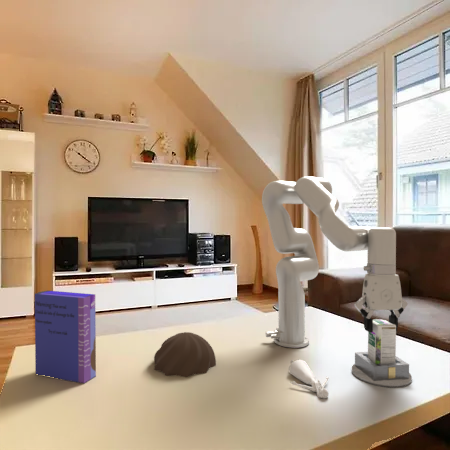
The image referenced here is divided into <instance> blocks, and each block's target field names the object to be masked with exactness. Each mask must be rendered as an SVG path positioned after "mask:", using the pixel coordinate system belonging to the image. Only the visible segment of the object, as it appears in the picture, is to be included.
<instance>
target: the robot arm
mask: <svg viewBox="0 0 450 450" xmlns="http://www.w3.org/2000/svg"><path fill="white" fill-rule="evenodd" d="M332 193H333V187H332V184H331V182H329V180H328V179H326V178H323V177H318V176H317V177H316V176H308V175H307V176H302V177H300V178H298V179H297V181H288V180H274V181H271V182H268V184H267V185H266V186H265V187H264V189H263V191H262V194H261V203H262V208H263V212H264V214H265V216H266V219H267V222H268V227H269V231H270V235H271V239H272V244H273V247H274V249H275V251H276V252H277V253H279V254H284V255H285V254H286V255H287V254H294V255H292V256H291V255H290V256H285V257H282V258H281V259H280V260H278V262H277V263H276V266H275V275H276V280H277V281H276V282H277V288H278V292H277V293H278V297H277V298H278V299H277V300H278V327H276V329H275V330H273V331H265V337H266V338H270V339H273V340H274V341H273V342H274V343H275V344H276V345H278V346H280V347H284V348H290V349H291V348H293V349H297V348H305V347H307V346H308V345H309V344H310V339H309V338H308V337H307V336H306V334H305V331H306V329H305V326H306V325H305V323H306V321H305V317H306V315H305V314H306V313H305V310H306V305H305V304H306V301H305V300H306V299H305V295H306V294H305V291H304V288H303V285H302V282H305V281H310V280H311V281H312V280H313V279H315V278H316V277H317V276H318V274H319V271H320V264H319V260H318V257H317V253H316V249H315V245H314V242H313V239H312V236H311V234H310V233H309V232H308V231H307V230H306V229H304V228H299V227H298V228H297V227H294V226H293V223H292V219H291V215H290V214H289V212H288V210H287V209H286V207H284V204H285V205H287V204H288V205H301V204H302V205H303V204H304V205H305V206H306V207H307V208H308V209H309V210H310V211H311V212H312V213H313V215H315V216H316V217H317V219H318V224H319V227H320V230H321V233H322V234H323V235H324V236H325V238H327V239H328V240H329V242H331V244H332V245H333V246H335V247H336V248H337V249H338V250H339V251H340V250H341V251H342V252H355V251H356V252H357V251H367V263H366V265H365V266H363V271H365V272H367V273H365V275H364V279H363V285H362V293H361V297H360V298H358V300H357V301H356V302H354V305H353V306H354V307H355V309H356V310H357V311H358V313H360V314H361V316H362V317H363V328H364V330H365V331H366V332H367V333H368V332H370V333H372V332H373V320H374V319H373V318H372V316H373V315H374V312H375V311H377V312H378V311H389V313H390V314H389V315H388V322H390V323H392V324H394V325H396V332H398V328H399V318H401V315H402V314H403V312H404V311H405V309H406V307H407V306H408V304H409V303H408V301H406V300H405V299H404V298H403V296H402V287H401V281H400V276H399V274H396V273H397V271H396V269H397V267H396V266H397V264H396V263H397V262H396V261H397V257H396V256H397V254H396V253H397V248H396V247H397V232H396V230H395V229H394V228H393V227H389V226H388V227H384V226H377V227H371V226H365V225H359V226H358V225H347V224H346V223H345V222H344V221H343V220H342V219H341V218H340V217H339V216H338V215H337V211H338V209H339V206H340V202H339V200H338V199H337V198H336V197H335V196H334V195H333V194H332ZM363 307H364V308H363Z"/></svg>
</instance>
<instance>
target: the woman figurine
mask: <svg viewBox="0 0 450 450" xmlns="http://www.w3.org/2000/svg"><path fill="white" fill-rule="evenodd" d="M288 371H289V374H290V375H292V376H293V377H294V378H296V379H297V380H299V381H300V382H302V383H304V384H300V383H297V382H296V381H295V380H293V381H290V382H289V383H290V384H291V385H292V386H298V387H301V388H304V389H308V390H310V391H312V392H315V393H316V396H317V397H318V398H321V399H327V398H328V397H329V391H328V389H327V388H326V387H325V386H326V384H327V382H328V381H329V379H330V378H329V376H326V377H325V381H324V382H323V383H321V382H320V380H319V379H317V378H316V376H315V374H314V372H313V371H312V369H311V368H310V366H309V364H308V363H307V361H305V360H303V359H296V360H294V361H293V359H291V360H290V365H289V368H288ZM305 384H307V385H305ZM308 385H311V386H308Z"/></svg>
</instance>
